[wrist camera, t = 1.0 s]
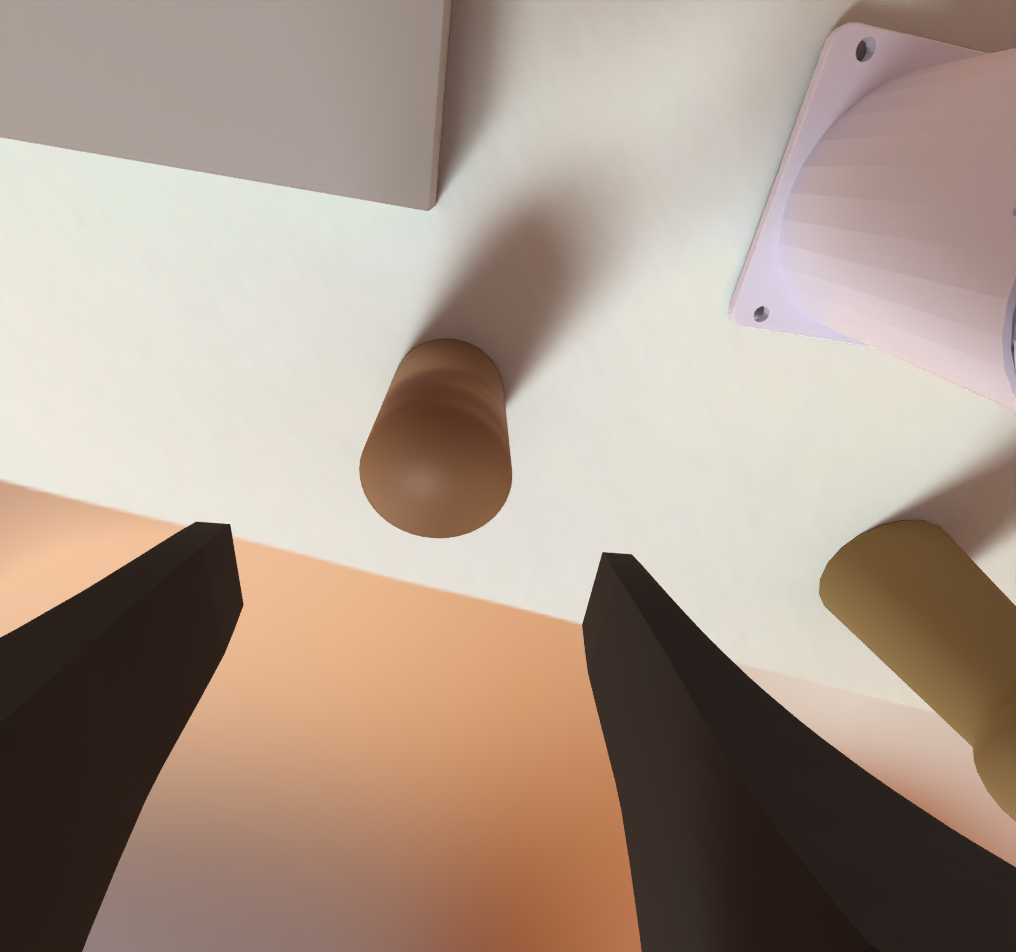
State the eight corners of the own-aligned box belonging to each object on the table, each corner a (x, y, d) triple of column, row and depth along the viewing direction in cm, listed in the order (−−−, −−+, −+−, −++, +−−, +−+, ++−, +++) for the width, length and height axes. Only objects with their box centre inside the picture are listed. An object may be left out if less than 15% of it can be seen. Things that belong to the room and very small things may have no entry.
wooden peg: (511, 347, 18) (523, 418, 13) (495, 448, 20) (500, 544, 15) (395, 331, 18) (360, 397, 13) (390, 436, 20) (358, 530, 15)
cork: (863, 509, 22) (1142, 758, 13) (981, 530, 23) (1323, 777, 14) (795, 611, 25) (982, 873, 16) (902, 626, 26) (1140, 883, 17)
